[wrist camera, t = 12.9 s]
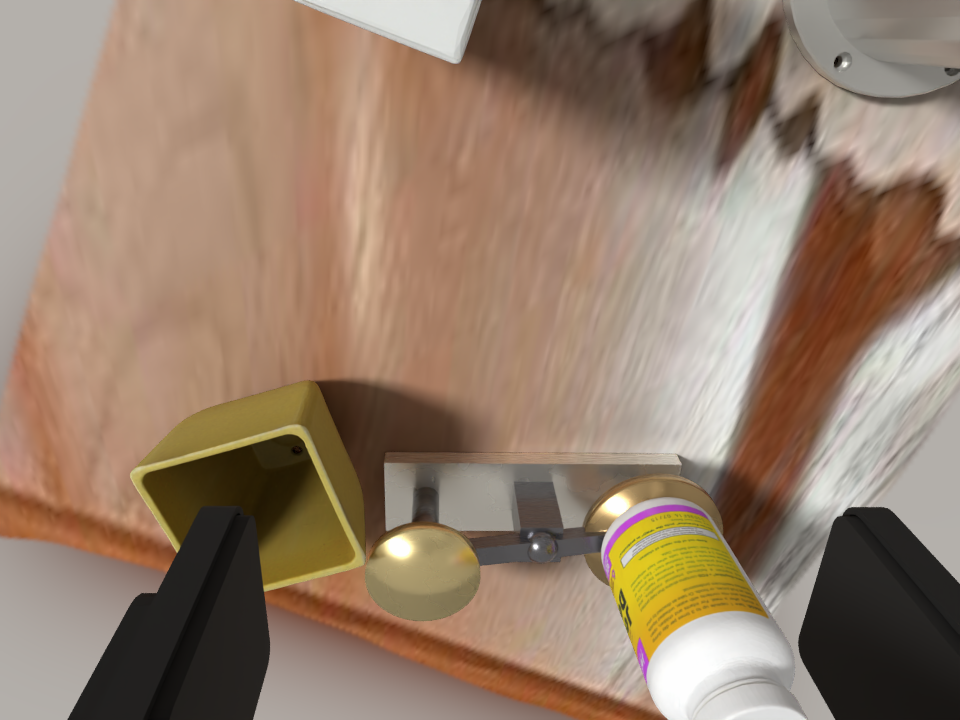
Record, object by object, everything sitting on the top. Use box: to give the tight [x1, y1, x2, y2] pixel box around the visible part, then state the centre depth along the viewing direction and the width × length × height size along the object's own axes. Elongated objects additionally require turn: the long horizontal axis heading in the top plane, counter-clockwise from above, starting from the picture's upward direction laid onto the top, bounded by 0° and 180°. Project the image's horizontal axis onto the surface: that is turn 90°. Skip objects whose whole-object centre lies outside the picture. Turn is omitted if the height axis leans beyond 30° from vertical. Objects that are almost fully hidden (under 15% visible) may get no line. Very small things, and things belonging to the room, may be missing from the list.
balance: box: [365, 452, 723, 621], centre depth 41 cm, size 20×8×8 cm, turn 88°
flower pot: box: [130, 380, 366, 592], centre depth 38 cm, size 9×9×9 cm
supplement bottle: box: [601, 497, 808, 720], centre depth 35 cm, size 7×7×13 cm
